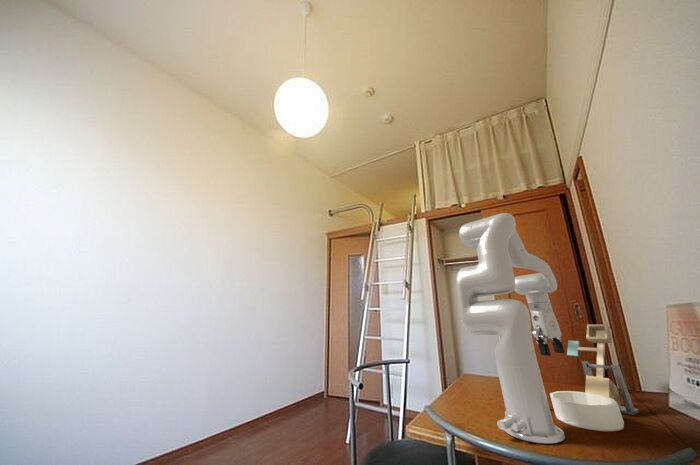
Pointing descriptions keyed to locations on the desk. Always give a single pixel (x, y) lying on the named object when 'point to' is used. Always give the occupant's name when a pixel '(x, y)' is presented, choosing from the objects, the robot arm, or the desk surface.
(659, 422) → the desk surface
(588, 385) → the lever
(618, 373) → the pivot stand
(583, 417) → the bowl
